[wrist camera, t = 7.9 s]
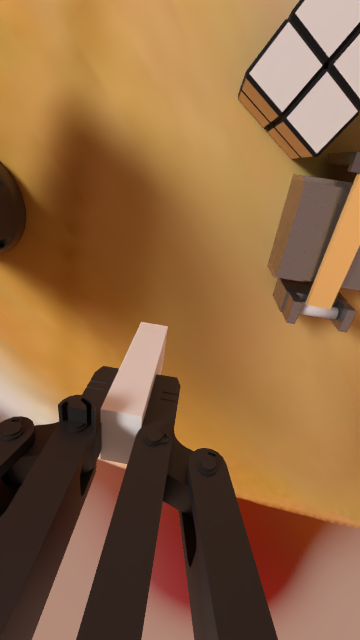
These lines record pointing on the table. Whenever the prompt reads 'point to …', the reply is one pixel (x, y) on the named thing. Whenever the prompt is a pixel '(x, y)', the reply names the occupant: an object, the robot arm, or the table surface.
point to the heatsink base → (312, 240)
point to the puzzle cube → (308, 77)
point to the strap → (336, 259)
